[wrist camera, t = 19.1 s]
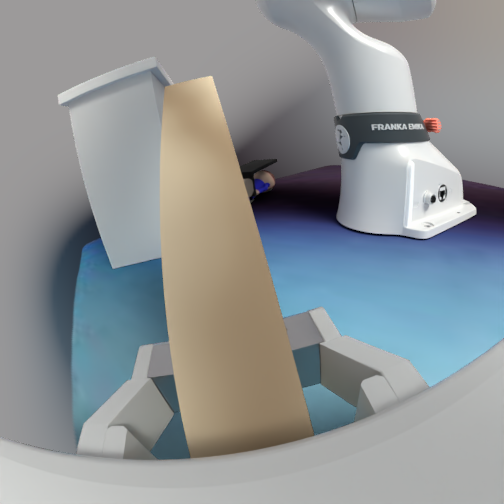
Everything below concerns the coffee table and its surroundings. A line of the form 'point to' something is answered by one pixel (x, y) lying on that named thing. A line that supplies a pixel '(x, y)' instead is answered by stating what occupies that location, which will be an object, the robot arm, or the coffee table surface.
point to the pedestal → (122, 155)
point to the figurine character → (257, 177)
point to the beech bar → (220, 290)
